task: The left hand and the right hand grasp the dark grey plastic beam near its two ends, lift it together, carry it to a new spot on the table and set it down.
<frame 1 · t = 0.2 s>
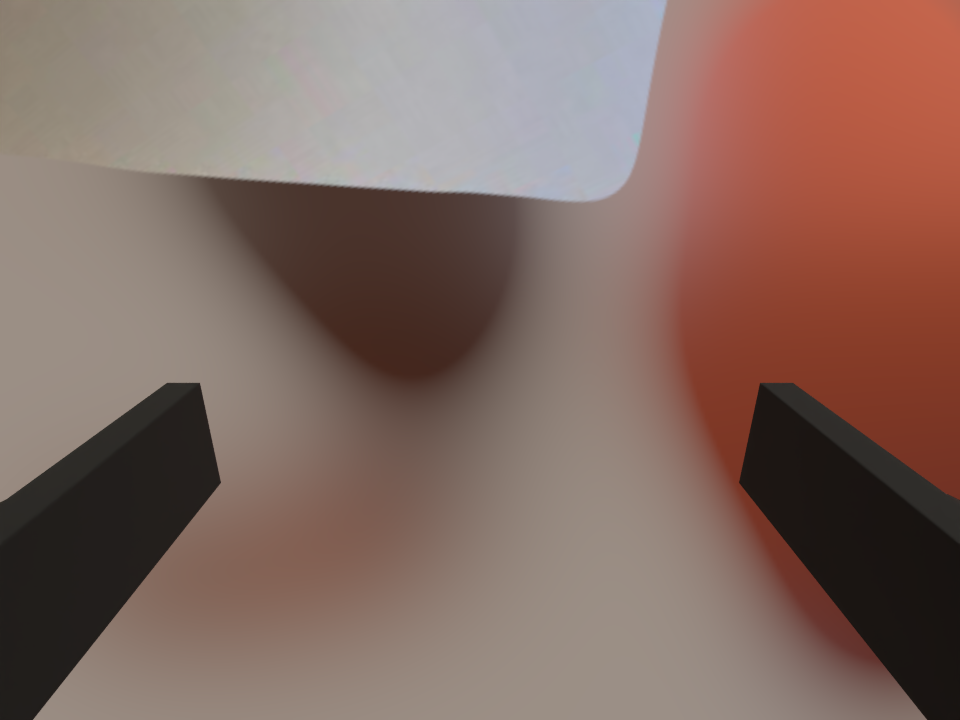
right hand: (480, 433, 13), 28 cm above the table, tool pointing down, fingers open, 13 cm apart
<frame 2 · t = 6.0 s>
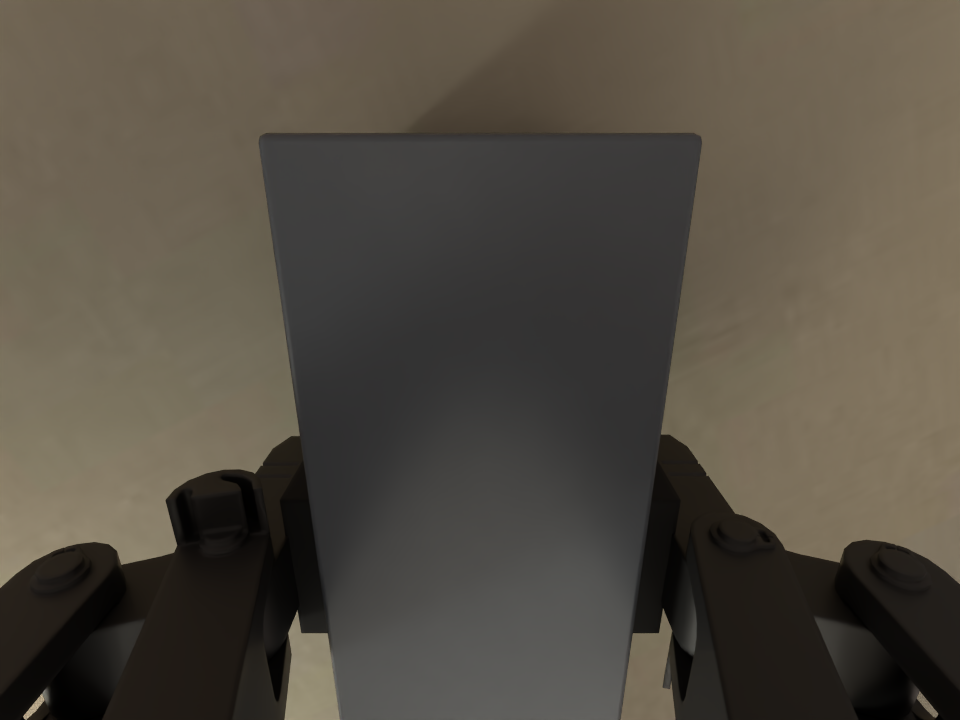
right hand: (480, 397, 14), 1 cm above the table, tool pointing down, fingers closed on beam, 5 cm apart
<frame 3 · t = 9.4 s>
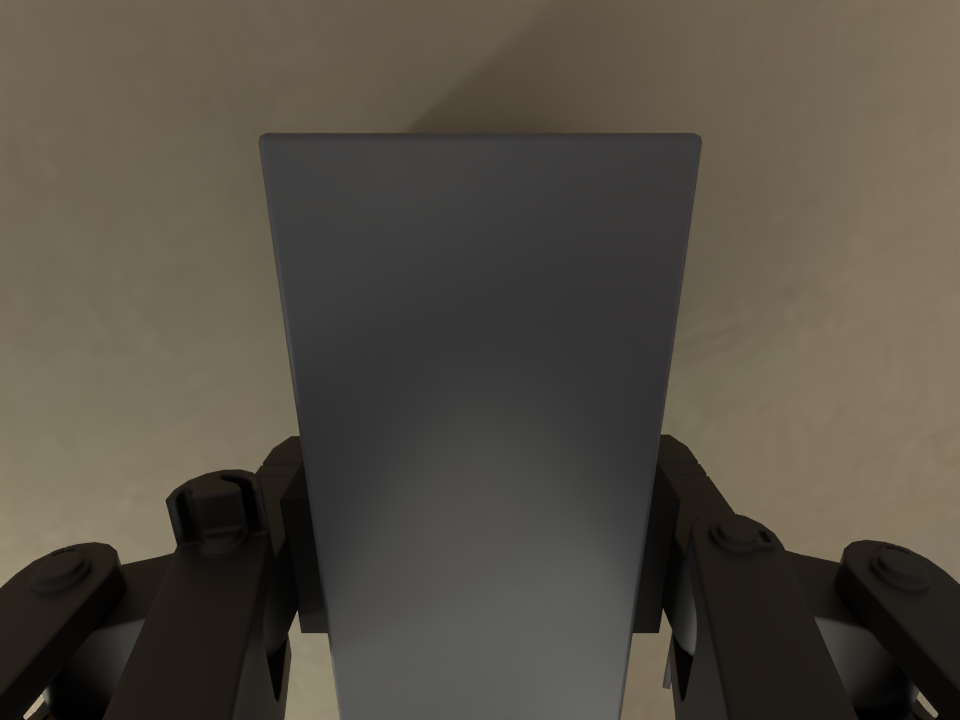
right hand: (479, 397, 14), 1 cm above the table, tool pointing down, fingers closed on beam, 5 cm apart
when the left hand's fingers open (2 cm above the table, at t = 18.0 s): beam drops 2 cm, on the table.
when the right hand's fingers open (2 cm above the table, at t = 18.0 s): beam drops 2 cm, on the table.
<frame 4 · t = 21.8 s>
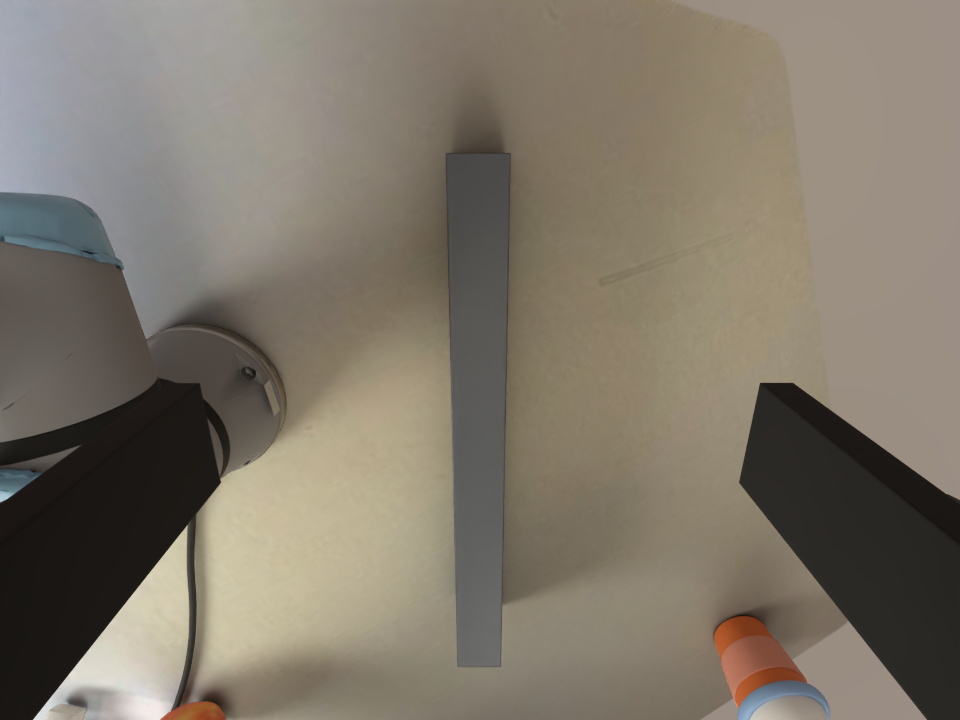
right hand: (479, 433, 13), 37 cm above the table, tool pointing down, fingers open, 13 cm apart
cup with straw: (738, 632, 64), on the table
apple: (207, 707, 69), on the table
beam: (478, 419, 54), on the table
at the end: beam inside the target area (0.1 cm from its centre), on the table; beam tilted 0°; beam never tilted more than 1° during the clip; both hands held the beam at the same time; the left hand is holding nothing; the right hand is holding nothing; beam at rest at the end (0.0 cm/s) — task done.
